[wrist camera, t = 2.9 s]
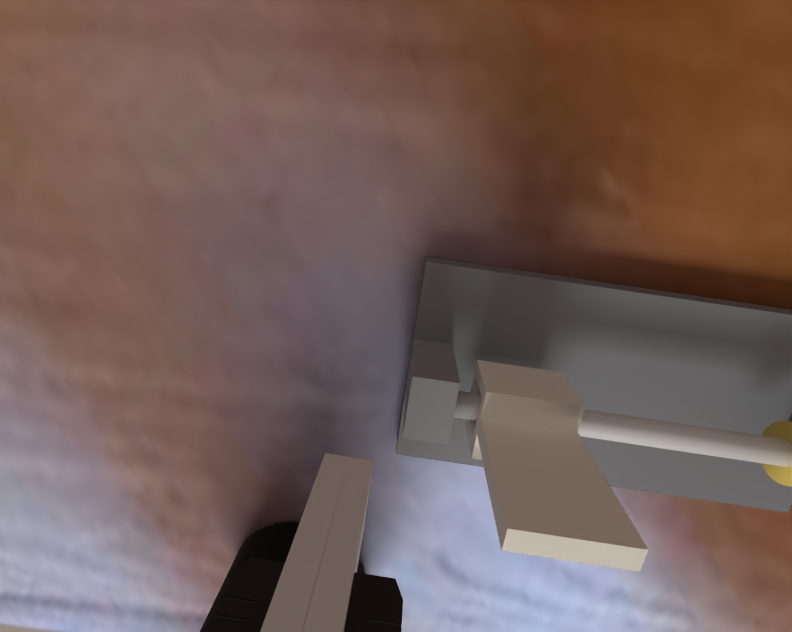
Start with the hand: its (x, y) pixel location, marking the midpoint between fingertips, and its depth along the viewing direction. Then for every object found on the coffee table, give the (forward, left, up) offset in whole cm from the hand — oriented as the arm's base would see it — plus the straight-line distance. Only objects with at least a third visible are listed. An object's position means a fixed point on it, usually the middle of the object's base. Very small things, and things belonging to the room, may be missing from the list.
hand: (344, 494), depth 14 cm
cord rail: (+13, 0, -12) cm, 17 cm away
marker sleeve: (+7, 0, -8) cm, 11 cm away
